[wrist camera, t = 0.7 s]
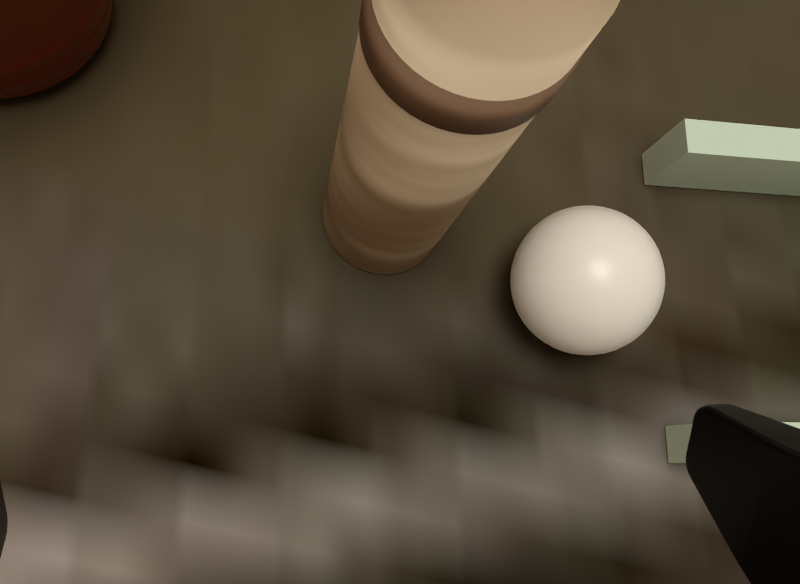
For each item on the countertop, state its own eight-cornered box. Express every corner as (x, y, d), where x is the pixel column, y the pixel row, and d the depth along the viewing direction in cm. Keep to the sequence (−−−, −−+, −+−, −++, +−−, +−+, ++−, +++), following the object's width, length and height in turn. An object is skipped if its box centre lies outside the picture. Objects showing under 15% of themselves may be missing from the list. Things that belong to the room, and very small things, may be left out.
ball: (640, 338, 24) (723, 310, 20) (523, 384, 23) (582, 365, 19) (587, 216, 25) (655, 163, 21) (470, 255, 24) (516, 208, 19)
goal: (878, 463, 25) (953, 463, 22) (668, 463, 23) (720, 463, 21) (833, 169, 27) (895, 137, 25) (641, 153, 26) (684, 118, 23)
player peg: (460, 254, 24) (669, 25, 11) (345, 292, 23) (437, 86, 10) (416, 145, 24) (569, -185, 12) (303, 178, 23) (341, -146, 11)
